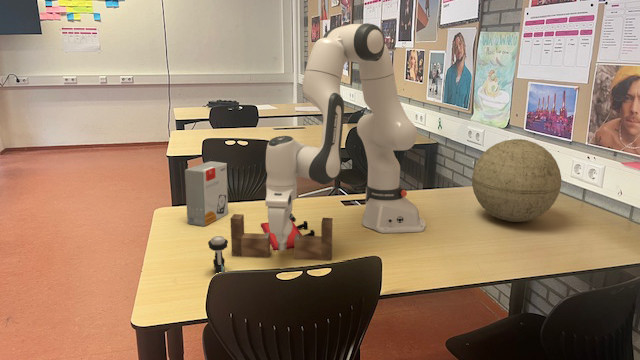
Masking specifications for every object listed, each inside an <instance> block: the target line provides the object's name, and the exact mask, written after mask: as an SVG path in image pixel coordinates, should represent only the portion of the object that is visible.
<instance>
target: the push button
mask: <svg viewBox="0 0 640 360" xmlns="http://www.w3.org/2000/svg"><path fill="white" fill-rule="evenodd" d="M228 244H229V241H228V239H226V238H225V237H224V236H222V235H219V236H218V235H217V236H212V237H211V239H210V240H209V241H208V242H207V245H208V247H209V249H210V250H211V251H214V259H213V260H212V261H213V262H212V263H213V269H214V273H215V274H216V273H219V272H223V273H224V271H226V266H225V262H226V260H225V258H224V257H223V252H222V251H224V250H225V249H226V248H228Z"/></svg>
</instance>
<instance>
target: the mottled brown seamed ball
mask: <svg viewBox="0 0 640 360" xmlns="http://www.w3.org/2000/svg"><path fill="white" fill-rule="evenodd" d="M471 181H472V182H471V183H472V185H471V186H472V190H473V193H474V195H475V197H476V200H477V202H478V204H480V206H481V207H482V209H484V210H485V211H486V212H487V213H488V214H490V215H491V216H493V217H494V218H495V217H496V218H497V219H498V220H502V221H505V222H511V223H522V222H526V221H527V222H528V221H531V220H535V219H537V218H538V217H541V216H542V215H544V214H545V213H546V212H547V211H549V210H550V208H552V206H554V204H555V202H556V201H557V198H558V196H559V195H560V191H561V187H562V174H561V170H560V167H559V164H558V162H557V160H556V159H555V157H554V156H553V155H552V153H550V152H549V150H547V149H546V148H545V147H544V146H541V145H540V144H538V143H536V142H534V141H531V140H529V139H528V140H527V139H521V138H520V139H519V138H514V139H507V140H503V141H500V142H498V143H496V144H494V145H492V146H490V147H489V148H487V149H486V150H485V151H484V152H482V154H481V155H480V156H479V158H478V159H477V160H476V163H475V165H474V168H473V172H472V177H471Z"/></svg>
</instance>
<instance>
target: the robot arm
mask: <svg viewBox="0 0 640 360" xmlns="http://www.w3.org/2000/svg"><path fill="white" fill-rule="evenodd" d="M346 62H347V63H354V62H356V63H357V64H358V70H359V78H360V84H361V92H362V95H363V96H362V97H363V101H364V103H365V105H366V106H367V107H368V108H369V110H370V111H371V113H367V114H364V115H363V116H360V118H359V120H358V122H357V123H356V133H357V135H358V137H359V138H360V140H361V141H362V144H363V148H364V151H365V156H366V160H367V184H366V187H365V202H366V203H365V208H364V213H363V217H362V219H361V225H363V226H364V227H366V228H368V229H371V230H375V231H376V232H378V233H382V234H391V233H397V234H398V233H420V232H424V231H425V229H426V222H425V220H424V219H423V218H421V217H420V213H419V212H420V211H419V209H418V207H417V205H416V204H414V203H413V202H412V201H411V200H410V199H408V198H407V195H408V193H407V191H406V189H405V188H404V186H402V185H400V176H401V165H400V163H399V161H398V159H397V158H396V155H395V153H394V151H408V150H410V149H412V147H414V145H415V144H416V142H417V140H418V130H417V127H416V125H415V124H414V123H413V122H412V121H411V119H410V118H409V117H408V116H407V114H406V112H405V110H404V108H403V106H402V103H401V101H400V97H399V95H398V89H397V83H396V78H395V72H394V71H395V70H394V65H393V61H392V56H391V53H390V50H389V48H388V45H387V44H386V41H385V35H384V33H383V31H382V29H381V28H380V27H379V26H378V25H377V24H374V23H368V22H367V23H350V24H347V25H342V26H335V27H332V28H329V30H327V31H326V32H325V33H324V35H323V36H322V37H321V38H319V39H318V40H316V41H315V43H314V44H313V47H312V49H311V51H310V55H309V57H308V59H307V63H306V66H305V71H304V74H303V78H302V79H303V80H302V92H303V95H304V96H305V98H306V99H307V100H308V101H309V102H310V103H311V105H314V107H316V108H317V109H318V110H319V111H320V113H321V115H322V120H323V122H322V123H323V124H322V132H321V142H320V143H321V144H320V146H319V147H317V146H312V145H308V144H305V143H301V142H298V141H297V140H296V139H294V137H292V136H290V135H281V136H275V137H272V138H271V139H270V140H269V141H268V142H267V145H266V150H265V171H266V174H267V175H266V181H265V183H266V184H265V188H266V189H265V190H266V192H265V193H266V194H265V195H266V196H265V200H264V201H265V207H267V218H268V219H267V220H268V222H269V229H270V232H271V233H276V236H277V241H278V242H282V241H283V231H284V228H285V226H286V224H287V220H288V218H289V217H290V215H291V213H292V212H293V202H294V201H295V200H296V199H297V197H298V196H297V193H298V192H297V184H298V183H297V182H298V181H297V178H298V177H301V178H305V179H308V180H311V181H313V182H316V183H317V184H321V185H324V186H325V185H328V184H330V183H332V182H334V181H335V180H336V179H337V178H338V176H339V175H340V173H341V169H342V156H341V149H342V148H341V147H342V138H343V128H344V117H345V101H344V98H343V97H342V96H341V82H342V76H343V74H344V73H343V72H344V66H345V64H346ZM268 222H267V223H268Z"/></svg>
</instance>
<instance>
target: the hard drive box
mask: <svg viewBox="0 0 640 360" xmlns="http://www.w3.org/2000/svg"><path fill="white" fill-rule="evenodd" d="M227 166H228V163H227V162H220V161H211V160H210V161H206V162H203V163H201V164H198V165H195V166H192V167H190V168H186V169H185V170H184V178H185V180H184V181H185V199H186V215H187V216H186V221H187V224H189V225H195V226H200V227H206V226H208V225H210V224H212V223H213V222H215V221H218V220H219V219H221V218H223V217H225V216H227V215H228V214H229V201H228V199H229V198H228V197H229V196H228V171H227V170H228V168H227Z"/></svg>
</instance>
